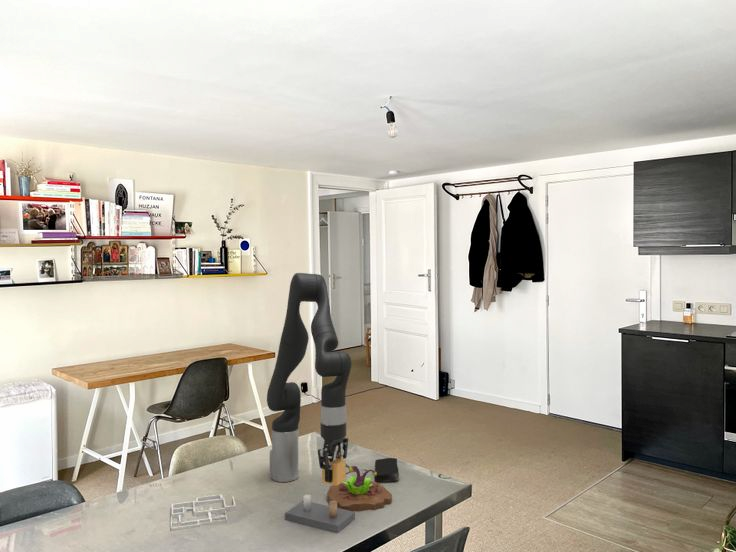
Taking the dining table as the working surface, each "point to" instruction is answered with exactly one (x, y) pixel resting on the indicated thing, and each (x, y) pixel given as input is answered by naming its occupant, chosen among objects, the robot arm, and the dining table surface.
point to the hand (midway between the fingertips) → (333, 478)
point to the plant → (359, 493)
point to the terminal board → (320, 515)
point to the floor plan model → (200, 512)
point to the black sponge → (386, 470)
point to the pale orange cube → (336, 472)
